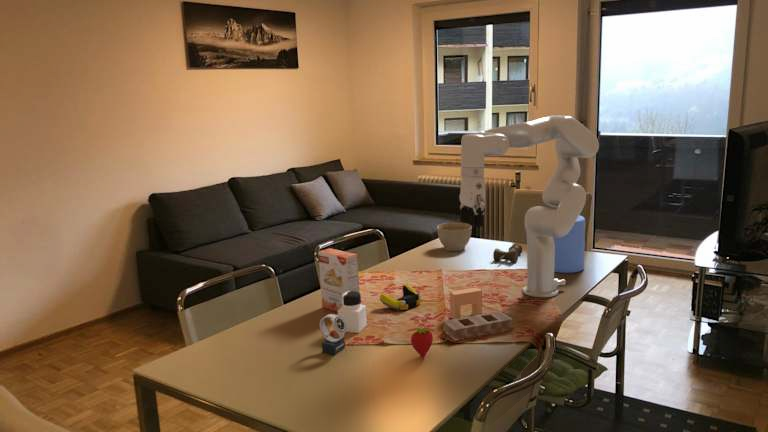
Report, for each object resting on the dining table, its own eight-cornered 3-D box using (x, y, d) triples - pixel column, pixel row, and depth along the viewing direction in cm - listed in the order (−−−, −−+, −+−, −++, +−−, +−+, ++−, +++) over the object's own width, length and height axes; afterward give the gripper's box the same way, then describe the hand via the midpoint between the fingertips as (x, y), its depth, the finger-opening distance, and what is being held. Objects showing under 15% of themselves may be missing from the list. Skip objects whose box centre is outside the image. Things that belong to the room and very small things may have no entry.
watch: (340, 356, 179) (338, 320, 177) (317, 351, 183) (315, 316, 180) (350, 349, 184) (348, 314, 181) (328, 344, 188) (325, 310, 185)
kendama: (527, 256, 273) (510, 267, 257) (507, 254, 279) (489, 264, 262) (527, 243, 272) (510, 252, 256) (507, 241, 278) (488, 251, 261)
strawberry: (407, 360, 174) (406, 327, 172) (418, 349, 181) (417, 317, 179) (426, 363, 172) (425, 329, 170) (437, 353, 178) (436, 320, 176)
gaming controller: (377, 308, 216) (398, 315, 210) (377, 293, 215) (397, 299, 208) (406, 297, 227) (427, 302, 220) (406, 282, 226) (427, 288, 219)
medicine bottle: (367, 325, 201) (365, 290, 199) (359, 333, 195) (357, 297, 192) (346, 323, 204) (344, 288, 201) (338, 331, 197) (336, 295, 195)
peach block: (477, 312, 208) (477, 287, 206) (482, 316, 205) (482, 290, 203) (450, 317, 205) (449, 291, 203) (454, 321, 201) (454, 294, 200)
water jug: (588, 265, 255) (590, 198, 249) (578, 275, 242) (579, 205, 236) (551, 260, 263) (552, 196, 257) (539, 270, 250) (539, 202, 244)
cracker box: (321, 308, 219) (317, 251, 215) (333, 303, 223) (330, 247, 219) (348, 316, 209) (345, 257, 205) (361, 311, 214) (358, 253, 209)
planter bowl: (436, 253, 282) (435, 230, 280) (438, 244, 298) (438, 222, 295) (471, 253, 279) (471, 230, 277) (472, 244, 295) (472, 222, 293)
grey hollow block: (499, 321, 200) (499, 310, 199) (512, 329, 192) (512, 319, 192) (443, 331, 193) (443, 321, 193) (454, 341, 186) (454, 330, 185)
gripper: (495, 174, 195) (493, 228, 198) (471, 169, 211) (470, 218, 214) (473, 175, 193) (472, 229, 196) (450, 170, 209) (450, 219, 212)
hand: (471, 223), depth 205 cm, fingers open, 9 cm apart
